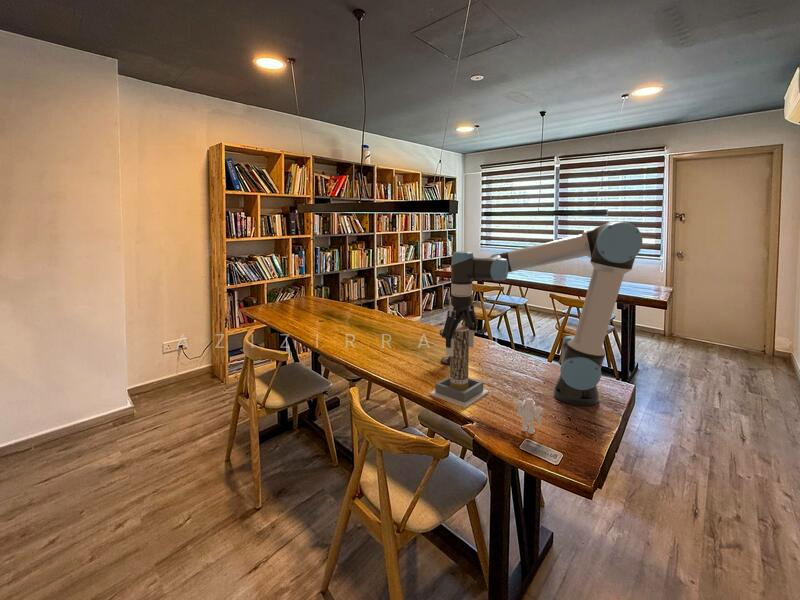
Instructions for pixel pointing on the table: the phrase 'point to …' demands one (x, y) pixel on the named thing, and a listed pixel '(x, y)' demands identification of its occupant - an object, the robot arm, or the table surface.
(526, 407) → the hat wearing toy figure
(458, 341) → the paper tube
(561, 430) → the table surface
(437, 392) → the collar stand
